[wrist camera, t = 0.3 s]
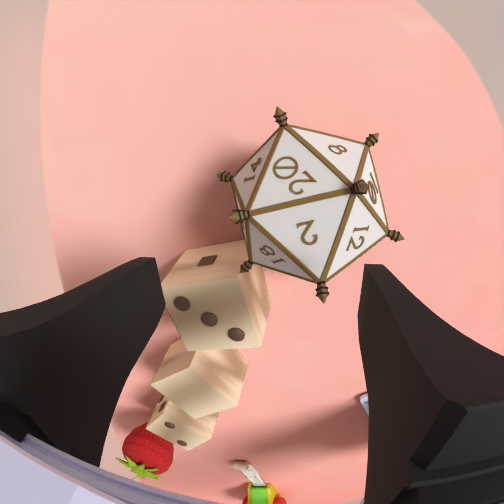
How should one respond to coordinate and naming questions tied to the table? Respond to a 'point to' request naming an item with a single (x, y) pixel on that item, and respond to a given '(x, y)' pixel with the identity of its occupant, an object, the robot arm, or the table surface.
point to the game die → (308, 203)
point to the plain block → (201, 379)
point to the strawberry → (147, 453)
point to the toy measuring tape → (257, 486)
